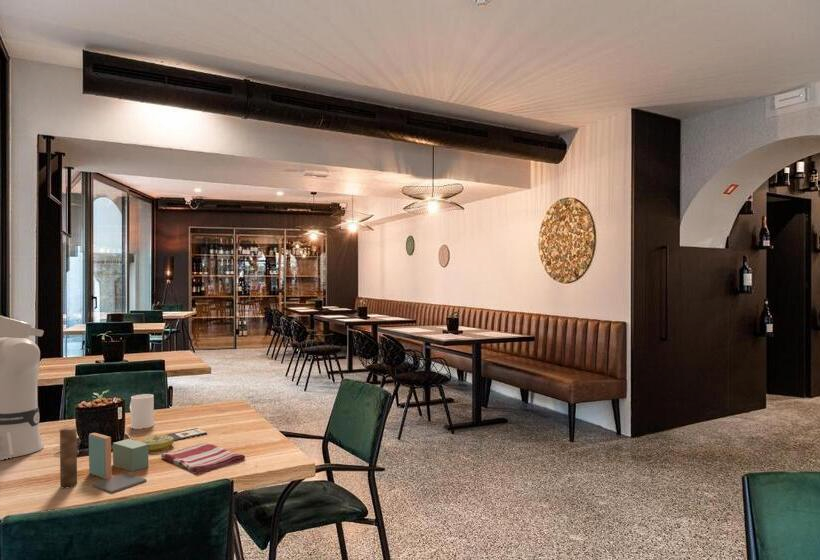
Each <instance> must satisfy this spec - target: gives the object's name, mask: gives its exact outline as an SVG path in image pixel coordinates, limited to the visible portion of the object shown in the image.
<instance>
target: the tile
mask: <svg viewBox="0 0 820 560" xmlns="http://www.w3.org/2000/svg"><path fill="white" fill-rule="evenodd" d="M88 467H89V468H88V473H89V474H90V473H91V474H90V475H93V476H95V475H96V476H95V477H98V476H99V477H98V478H101V479H103V480H106V479H109V478H112V437H111V436H108V435H106V434H101V433H97V432H92V433H89V435H88Z"/></svg>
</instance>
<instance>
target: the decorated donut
mask: <svg viewBox="0 0 820 560" xmlns="http://www.w3.org/2000/svg"><path fill="white" fill-rule="evenodd" d="M140 442H142V443H145V444H148V453H154V452H157V453H158V452H161V451H162V450H163V451H166V450H169V449H170V448H171V447H172V446H173V444H174V442H175V441H174V438H173V437H171V436H168V435H166V434H155V435H151V436H148V437H145V438H143V439H142V440H141V441H140Z"/></svg>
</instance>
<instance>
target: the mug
mask: <svg viewBox="0 0 820 560" xmlns="http://www.w3.org/2000/svg"><path fill="white" fill-rule="evenodd" d="M154 405H155V401H154V394H151V393H142V394H136V395H132V396H130V402H129V412H130V417H131V418H130V419H131V421H130V422H131V423H130V429H132V428H133V429H132V430H143V428H145V429H148V428H152V427H154V426H155V413H154V412H155V411H154V410H155V406H154Z"/></svg>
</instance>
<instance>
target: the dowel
mask: <svg viewBox="0 0 820 560" xmlns="http://www.w3.org/2000/svg"><path fill="white" fill-rule="evenodd" d="M77 430H78V428H77V427H75V426H73V427H71V426H70V427H65V428H61V429H59V456H60V457H59V463H60V464H59V467H60V470H59V472H60V473H59V477H60V479H59V480H60V481H59V482H60V484H59V485H60V486H61V487H64V488H63V489H67V488H66V487H69V488H72V487H71V486H73V487H74V485H75V486H77V485H78V449H77V448H78V446H77V445H78V443H77V442H78V440H77V437H78V436H77V434H78V433H77ZM76 484H77V485H76ZM61 487H60V488H61Z"/></svg>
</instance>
